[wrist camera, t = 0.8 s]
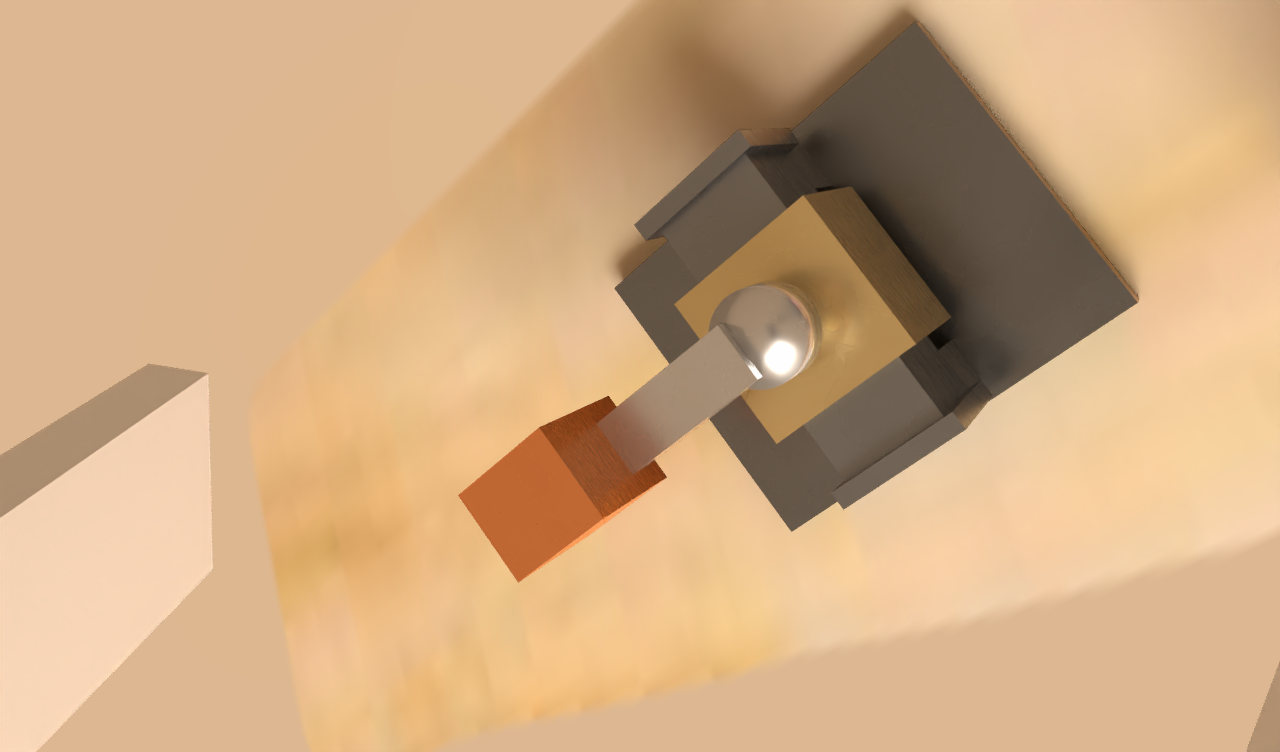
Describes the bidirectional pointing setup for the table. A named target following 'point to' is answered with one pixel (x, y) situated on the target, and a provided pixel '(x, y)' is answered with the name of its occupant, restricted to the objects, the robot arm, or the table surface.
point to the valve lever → (638, 429)
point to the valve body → (876, 274)
